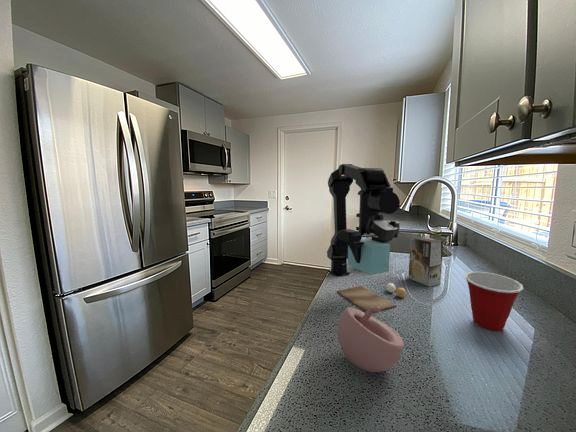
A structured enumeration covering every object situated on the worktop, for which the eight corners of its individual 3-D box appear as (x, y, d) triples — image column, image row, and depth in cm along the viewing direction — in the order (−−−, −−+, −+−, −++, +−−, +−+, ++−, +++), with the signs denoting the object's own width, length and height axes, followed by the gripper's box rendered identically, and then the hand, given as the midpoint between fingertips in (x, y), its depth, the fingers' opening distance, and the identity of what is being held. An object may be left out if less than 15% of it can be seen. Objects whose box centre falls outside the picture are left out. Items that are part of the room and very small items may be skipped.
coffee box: (441, 284, 84) (445, 240, 82) (428, 287, 82) (431, 242, 80) (419, 275, 92) (422, 236, 91) (407, 277, 90) (409, 237, 89)
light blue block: (347, 264, 75) (348, 240, 74) (364, 262, 77) (365, 238, 77) (370, 275, 66) (371, 247, 65) (388, 271, 68) (390, 244, 68)
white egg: (383, 291, 78) (384, 282, 78) (390, 289, 80) (390, 281, 79) (390, 294, 76) (391, 285, 75) (397, 293, 77) (398, 284, 77)
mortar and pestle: (417, 382, 41) (421, 321, 40) (354, 395, 38) (357, 329, 37) (377, 340, 53) (379, 291, 51) (327, 347, 50) (328, 296, 49)
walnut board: (337, 292, 77) (337, 290, 77) (360, 287, 81) (360, 285, 81) (369, 314, 64) (369, 312, 64) (396, 306, 68) (396, 305, 68)
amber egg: (393, 295, 75) (393, 286, 74) (400, 294, 76) (400, 285, 76) (401, 299, 72) (401, 290, 72) (408, 298, 73) (408, 288, 73)
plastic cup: (465, 330, 56) (469, 282, 55) (457, 310, 66) (461, 269, 65) (526, 344, 51) (532, 291, 50) (508, 320, 61) (513, 275, 60)
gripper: (364, 214, 58) (362, 274, 60) (415, 211, 66) (411, 265, 68) (337, 210, 69) (336, 262, 70) (384, 209, 76) (382, 255, 78)
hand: (367, 261), depth 71 cm, fingers closed on light blue block, 7 cm apart
